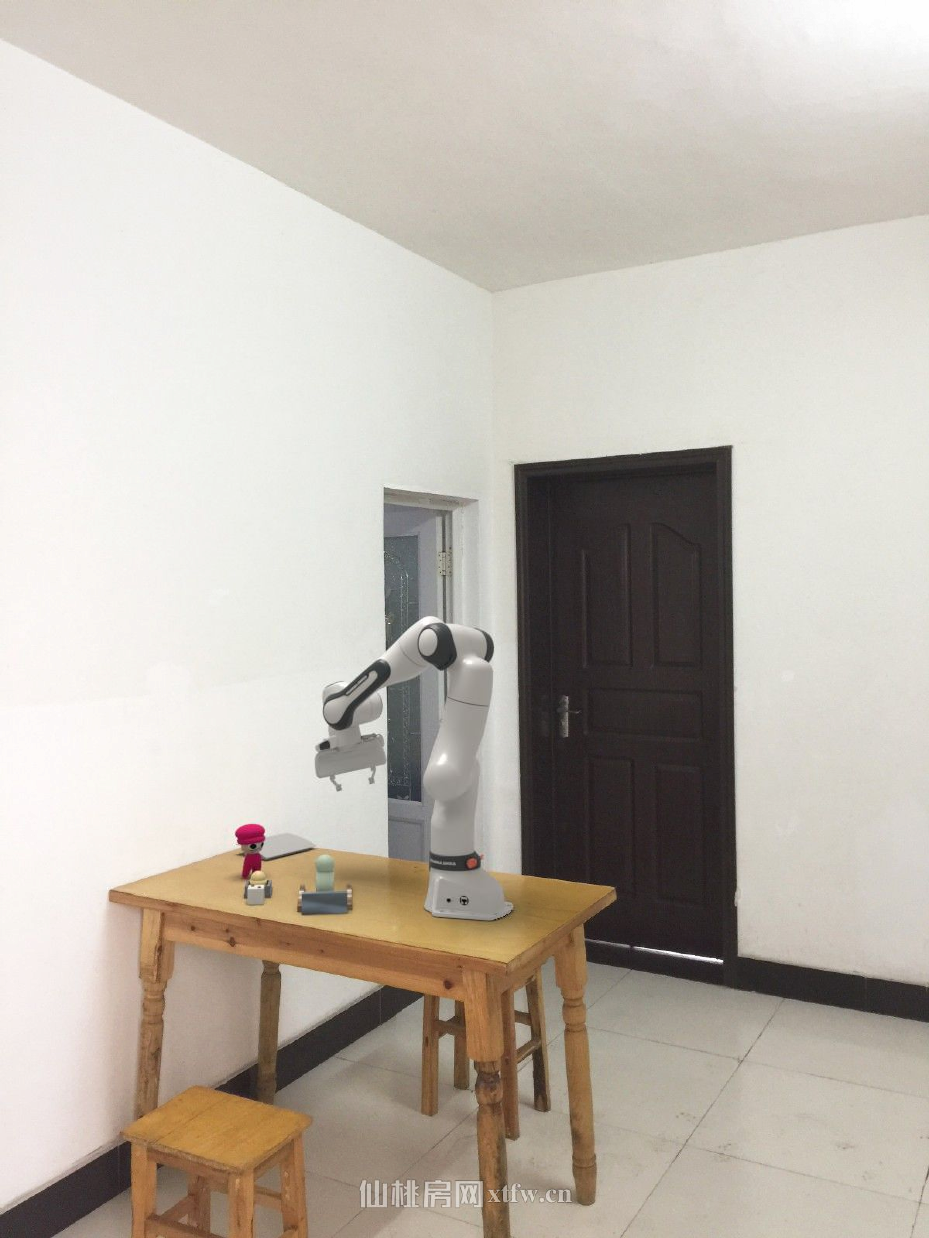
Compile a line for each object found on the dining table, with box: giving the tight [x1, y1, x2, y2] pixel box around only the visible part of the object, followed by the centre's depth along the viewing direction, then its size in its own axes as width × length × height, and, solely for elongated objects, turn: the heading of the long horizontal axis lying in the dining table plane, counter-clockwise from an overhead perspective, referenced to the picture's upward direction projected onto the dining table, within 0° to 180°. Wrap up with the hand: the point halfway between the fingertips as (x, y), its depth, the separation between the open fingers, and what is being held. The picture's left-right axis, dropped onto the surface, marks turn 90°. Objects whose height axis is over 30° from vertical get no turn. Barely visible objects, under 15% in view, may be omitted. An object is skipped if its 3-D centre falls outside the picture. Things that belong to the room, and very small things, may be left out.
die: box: [247, 884, 266, 906], centre depth 270 cm, size 4×4×4 cm
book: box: [235, 832, 317, 861], centre depth 326 cm, size 15×23×4 cm, turn 142°
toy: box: [234, 823, 266, 879], centre depth 295 cm, size 8×8×15 cm
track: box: [296, 882, 353, 915], centre depth 272 cm, size 24×14×5 cm, turn 7°
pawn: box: [314, 853, 335, 892], centre depth 267 cm, size 5×5×13 cm
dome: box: [249, 870, 268, 885], centre depth 278 cm, size 4×4×4 cm
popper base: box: [243, 879, 274, 900], centre depth 278 cm, size 7×7×3 cm
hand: (355, 787), depth 297 cm, fingers open, 8 cm apart
